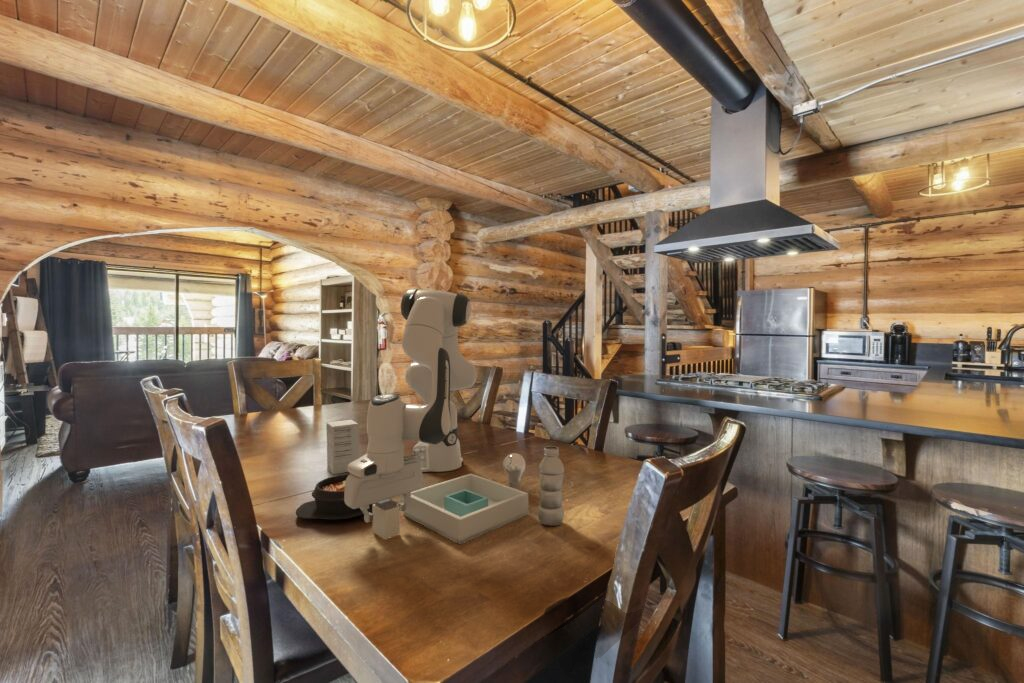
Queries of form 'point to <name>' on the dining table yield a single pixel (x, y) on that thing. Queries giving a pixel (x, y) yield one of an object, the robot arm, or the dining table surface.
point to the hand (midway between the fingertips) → (386, 515)
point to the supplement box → (342, 445)
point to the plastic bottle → (551, 488)
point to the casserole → (329, 501)
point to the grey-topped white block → (386, 518)
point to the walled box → (466, 507)
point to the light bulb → (514, 469)
